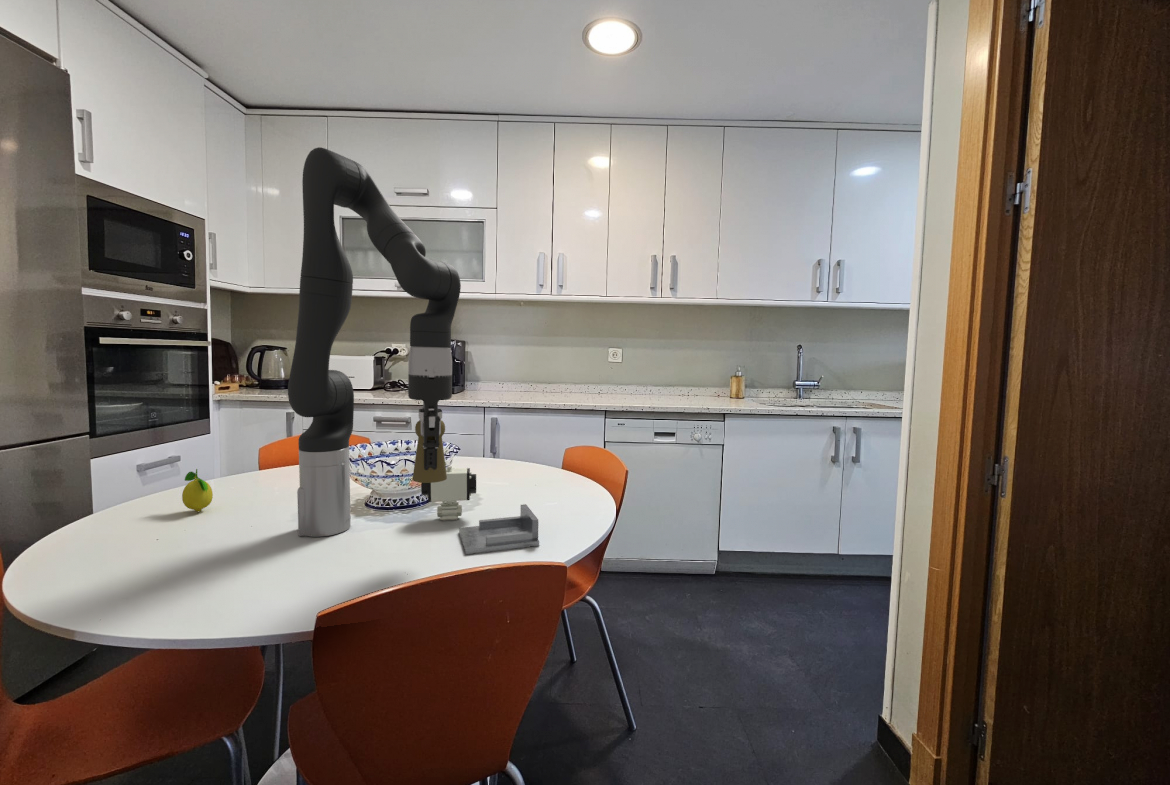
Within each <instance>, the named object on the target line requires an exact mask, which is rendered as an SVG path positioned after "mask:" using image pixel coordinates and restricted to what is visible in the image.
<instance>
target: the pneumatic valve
mask: <svg viewBox="0 0 1170 785" xmlns="http://www.w3.org/2000/svg"><path fill="white" fill-rule="evenodd" d="M446 467H447V468H446V474H447V479H446V480H444V481H441V482H434V483H420V484H421V485H420V486H421V487H420V488H421V490H420V491H421V496H423V497H424V496H426V499H427V502H428V503H435V502H437V503H438V502H442V503H440V504H439V505H438V506H437V508H436V514H437V516H436V517H437V518H439V520H440V521H441V522H445V521H446V522H447V521H457V520H459V517H461V516H462V514H463V506H462V505H461V504H460V503H459V501H462V502H463V501H470V500H471V496H472V495H473V494H474V495H475V494H477V474H476V473H472V472H471V468H470V467H467V468H466V467H465V468H453V466H452V465H450V466H449V465H447V466H446ZM459 504H460V505H459Z"/></svg>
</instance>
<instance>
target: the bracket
mask: <svg viewBox="0 0 1170 785" xmlns="http://www.w3.org/2000/svg"><path fill="white" fill-rule="evenodd" d="M519 514H520V515H519V516H508V517H498V518H497V517H496V518H487V519H479V520H478V525H475V526H466V527H465V526H464V527H458V534H459V537H460V540H461V543H463V544H462V546H464V547H463V549H465V550H464V553H465V552H466V553H465V555H466V554H468V555H474V554H473V553H477V554H482V553H481V552H485V553H490V552H489V551H493V552H499V551H498V550H502V551H507V550H506V549H510V550H516V549H515V548H518V549H524V548H523V547H527V548H531V547H530V546H535V547H540V540H539V518H538V517H537V516H536V515H535V513H534V512H533V511H532V509H530V507H529V506H528V505H527V504H524V503H523V504H520V513H519Z"/></svg>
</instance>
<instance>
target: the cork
mask: <svg viewBox="0 0 1170 785" xmlns="http://www.w3.org/2000/svg"><path fill="white" fill-rule="evenodd" d="M414 431H415V435H416V436H417V447H416V451H415V452H416V453H415V459H414V465H413V474H412V481H413V482H415V483H420V484H421V483H434V482H441V481H444V480H446V479H447V474H446V469H447V468H446V467H447V466H446V458H445V452H444V444H443V436H444V434H445V432H446V425H445V422H444V421H443V420H442V419H441V434H440V435H439V443H440V445H439V447H438V449H437V469H436V470H433V469H432V468H431V467H430V468H429V469H428V470H425V469H424V447H423V436H421V423H420V420H419V419H418V421H416V424H415V426H414ZM431 440H435V436H428V437H427V441H431Z"/></svg>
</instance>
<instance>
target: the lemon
mask: <svg viewBox="0 0 1170 785" xmlns="http://www.w3.org/2000/svg"><path fill="white" fill-rule="evenodd" d="M184 481H186V482H188V483H187V484H186V485H185V487H184V488H183V490H182V495H181V499H182V503H183V505H184V506H185V507H186V508H187V509H190V510H193V511H194V512H196V511H200V512H201V511H202V510H203V509H205V508H207V507H208V506H209V505H210V504H211V503H212V502H213V501H212V500H213V496H214V494H213V489H212V486H211V485H210V484H209V483H208V482H207V481H205V480H203V479H202V478H199V477H198V468H196V469H195V472H194V471H189V472H188V473H186V475H185V477H184Z"/></svg>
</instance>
